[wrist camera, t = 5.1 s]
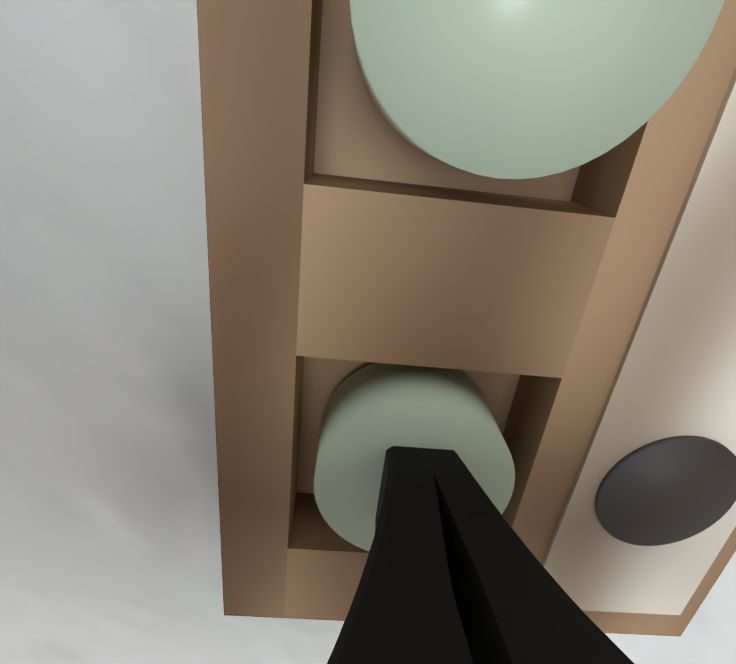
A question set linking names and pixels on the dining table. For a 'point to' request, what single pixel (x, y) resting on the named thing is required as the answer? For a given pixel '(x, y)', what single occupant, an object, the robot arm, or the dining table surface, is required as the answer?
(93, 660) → the dining table surface
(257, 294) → the board
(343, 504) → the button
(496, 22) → the button middle
